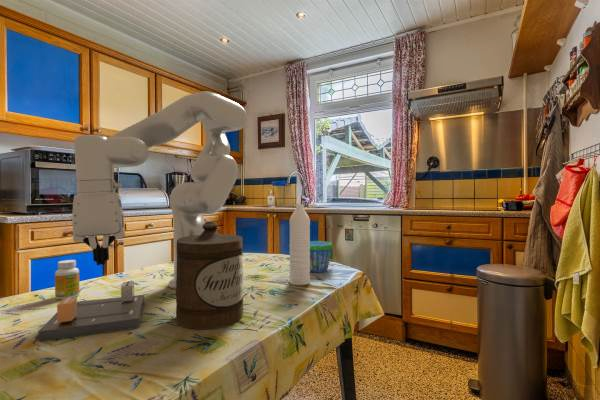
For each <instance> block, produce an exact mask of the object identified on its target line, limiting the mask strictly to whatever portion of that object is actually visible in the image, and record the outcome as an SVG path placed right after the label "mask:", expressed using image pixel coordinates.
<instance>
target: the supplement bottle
mask: <svg viewBox="0 0 600 400" xmlns="http://www.w3.org/2000/svg"><path fill="white" fill-rule="evenodd" d="M76 266H77V261H76V259H67V260H60V261H58V262H57V268H58V269H57V270H56V271H55V272H54V285H55V286H54V290H55V291H54V297H55V299H56V300H63V299H66V298H76V297H78V296H79V295H80V270H79V268H78V267H76Z"/></svg>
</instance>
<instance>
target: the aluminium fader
mask: <svg viewBox="0 0 600 400" xmlns="http://www.w3.org/2000/svg"><path fill="white" fill-rule="evenodd" d="M134 296H135V281H133V280H132V281H130V280H129V281H123V282H122V284H121V286H120V297H121V301H130V300H133V297H134Z"/></svg>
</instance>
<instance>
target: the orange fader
mask: <svg viewBox="0 0 600 400" xmlns="http://www.w3.org/2000/svg"><path fill="white" fill-rule="evenodd" d="M77 297H78V296H76V297H74V298H66V299H61V300H60V301H59V302H58V303H57V304H56V313H57V323H59V322H67V321H72V320H73V319H74V317H75V316H76V315H77V302H78V298H77Z"/></svg>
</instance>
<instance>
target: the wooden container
mask: <svg viewBox="0 0 600 400" xmlns="http://www.w3.org/2000/svg"><path fill="white" fill-rule="evenodd" d="M202 228H203V229H204V231H203V233H202V234H201V235H194V236H187V237H182V238H179V239H178V240H177V279H176V289H175V290H176V291H175V303H176V305H175V306H176V307H175V310H176V311H175V314H176V315H175V317H176V319H175V320H176V323H177V324H178V325H180V326H182V327H184V328H187V329H192V330H211V329H219V328H222V327H226V326H229V325H232V324H234V323H235V322H238V321H239V320H240V319H241V318H242V317H243V314H244V267H243V266H244V265H243V264H244V260H243V257H244V254H243V253H244V252H243V246H244V245H243V236H240V235H235V234H225V233H224V234H223V233H222V234H221V233H220V232H219V231H218V223H217V222H215V221H205V223H204V224H203V226H202Z"/></svg>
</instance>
